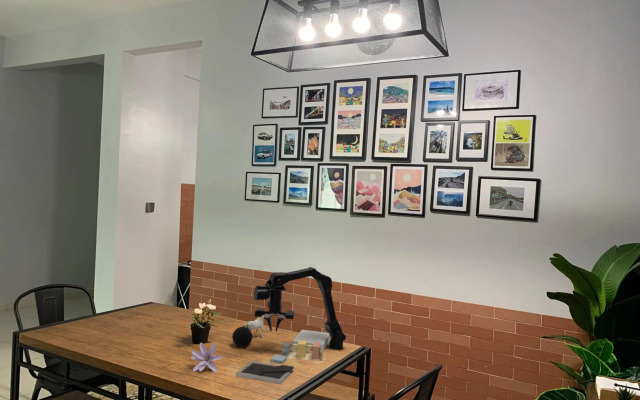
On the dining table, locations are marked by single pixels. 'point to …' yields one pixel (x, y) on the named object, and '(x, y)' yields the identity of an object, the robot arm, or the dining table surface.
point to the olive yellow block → (301, 349)
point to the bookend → (286, 349)
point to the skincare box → (313, 338)
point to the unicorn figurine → (255, 325)
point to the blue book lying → (278, 359)
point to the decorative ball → (242, 336)
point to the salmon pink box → (316, 350)
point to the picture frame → (265, 372)
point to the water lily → (205, 358)
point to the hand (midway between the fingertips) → (273, 331)
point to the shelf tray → (308, 352)
